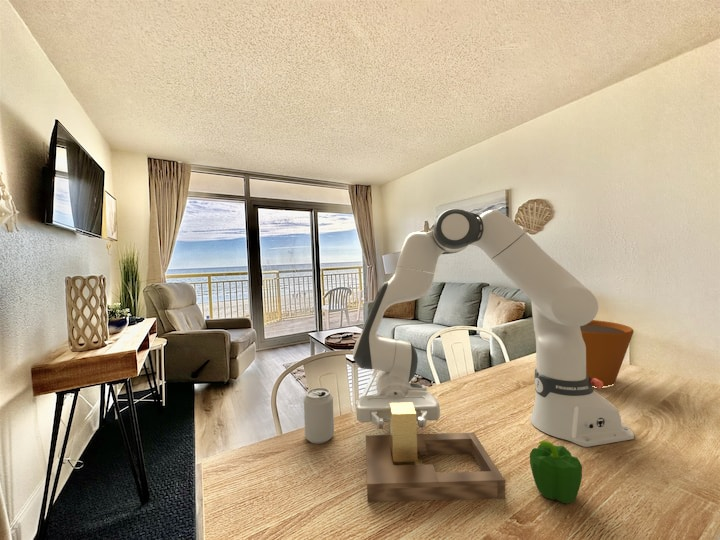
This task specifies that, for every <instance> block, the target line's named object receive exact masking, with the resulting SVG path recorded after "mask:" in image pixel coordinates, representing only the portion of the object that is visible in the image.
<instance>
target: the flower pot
mask: <svg viewBox="0 0 720 540" xmlns="http://www.w3.org/2000/svg"><path fill="white" fill-rule="evenodd" d="M580 329H581V333H582V337H583V340H584V343H585V345H586V375H587V376H589V377H591V379H593V378H596V379H598V380H600V381H602V382H603V383H602V384H603V386H608V385H612V384H614V383H615V384H616V381H617V378H618V375H619V373H620V369H621V368H622V365H623V362H624V359H625V356H626V355H627V354H626V353H627V351H628V348H629V346H630V342H631V340H632V337H633V334H634V329H633V328H632V327H630V326H628V325H625V324H621V323H618V322H611V321H605V320H598V319H596V320H595V319H593V320H592V321H591V322H590V323H588V324H586V325H583V326H580ZM615 384H614V385H615ZM591 385H592V384H591ZM592 386H593V385H592Z"/></svg>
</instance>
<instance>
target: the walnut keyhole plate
mask: <svg viewBox="0 0 720 540" xmlns="http://www.w3.org/2000/svg"><path fill="white" fill-rule="evenodd" d="M417 453H419V454H420V456H425V455H426V456H430V455H431V456H432V455H433V456H434V455H436V456H437V455H467V454H469V455H470V454H471V455H472V457H473V458H474V460H475V462H476V464H477V465H478V467H479V469H480V470H481V471H456V472H455V471H453V472H451V471H449V472H448V471H447V472H436V471H435V467H434V464H432V463H431V464H430V463H429V464H428V463H427V464H423V465H393V462H392V456H391V454H392V451H391V434H382V435H381V434H379V435H377V434H376V435H369V434H368V435H365V454H366V456H365V457H366V459H365V460H366V493H367V494H366V495H367V502H368V503H374V502H376V503H377V502H378V503H382V502H414V501H415V502H416V501H454V500H456V501H458V500H482V499H483V500H485V499H486V500H491V499H492V500H493V499H506V478H504V475H502V473H501V471H500V470H499V469H498V467H497V465H496V464H495V462H494V461H493V460H492V457H490V455H489V453H488V452H487V450H486V449H485V447H484V445H483V443H482V442H481V441H480V439H479V438H478V436H477V435H476V433H475V432H452V433H451V432H450V433H448V432H447V433H446V432H445V433H417Z"/></svg>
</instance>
